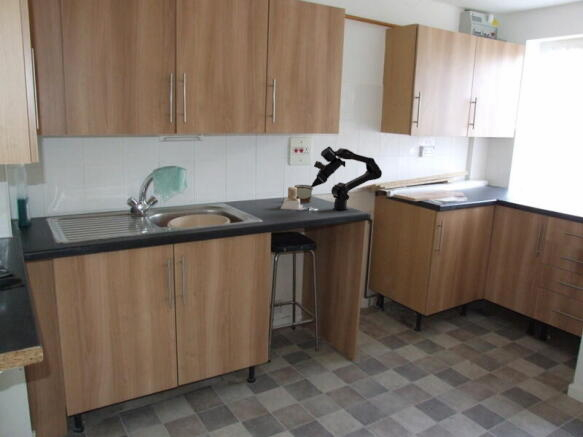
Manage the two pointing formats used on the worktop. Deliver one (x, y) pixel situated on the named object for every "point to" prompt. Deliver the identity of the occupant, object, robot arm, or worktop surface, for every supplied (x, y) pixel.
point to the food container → (304, 193)
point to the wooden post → (292, 193)
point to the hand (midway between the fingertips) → (312, 185)
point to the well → (292, 205)
